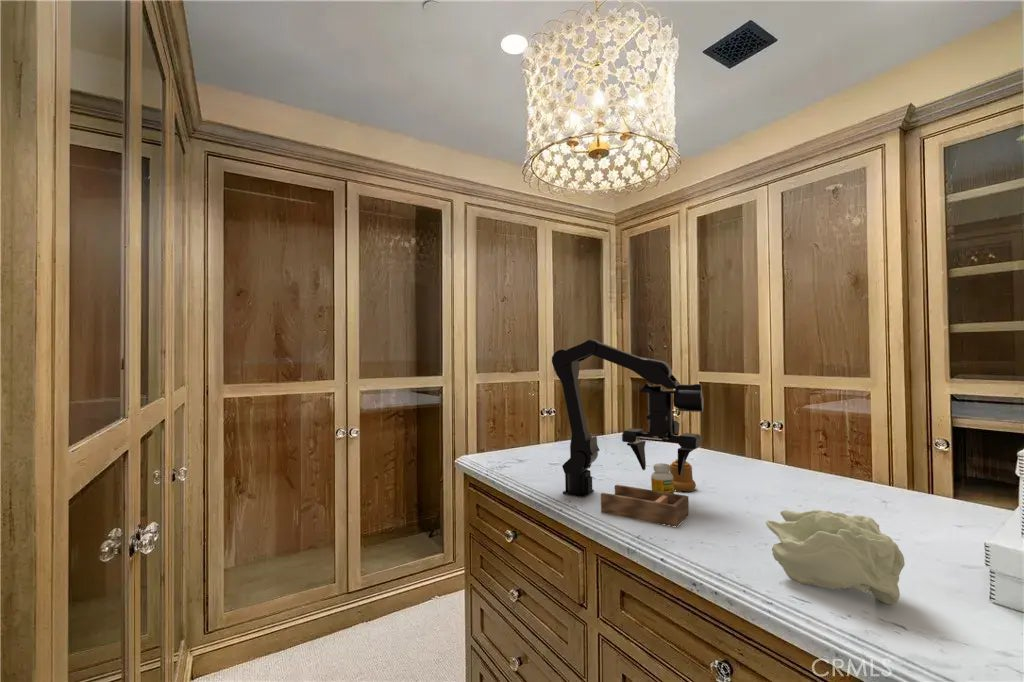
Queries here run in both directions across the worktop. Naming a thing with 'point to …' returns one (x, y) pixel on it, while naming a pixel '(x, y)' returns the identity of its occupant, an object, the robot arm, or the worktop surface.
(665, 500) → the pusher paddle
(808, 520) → the wavy plaster lump
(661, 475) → the supplement bottle
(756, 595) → the worktop surface
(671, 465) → the ornamental finial
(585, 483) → the robot arm
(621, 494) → the pusher lane
